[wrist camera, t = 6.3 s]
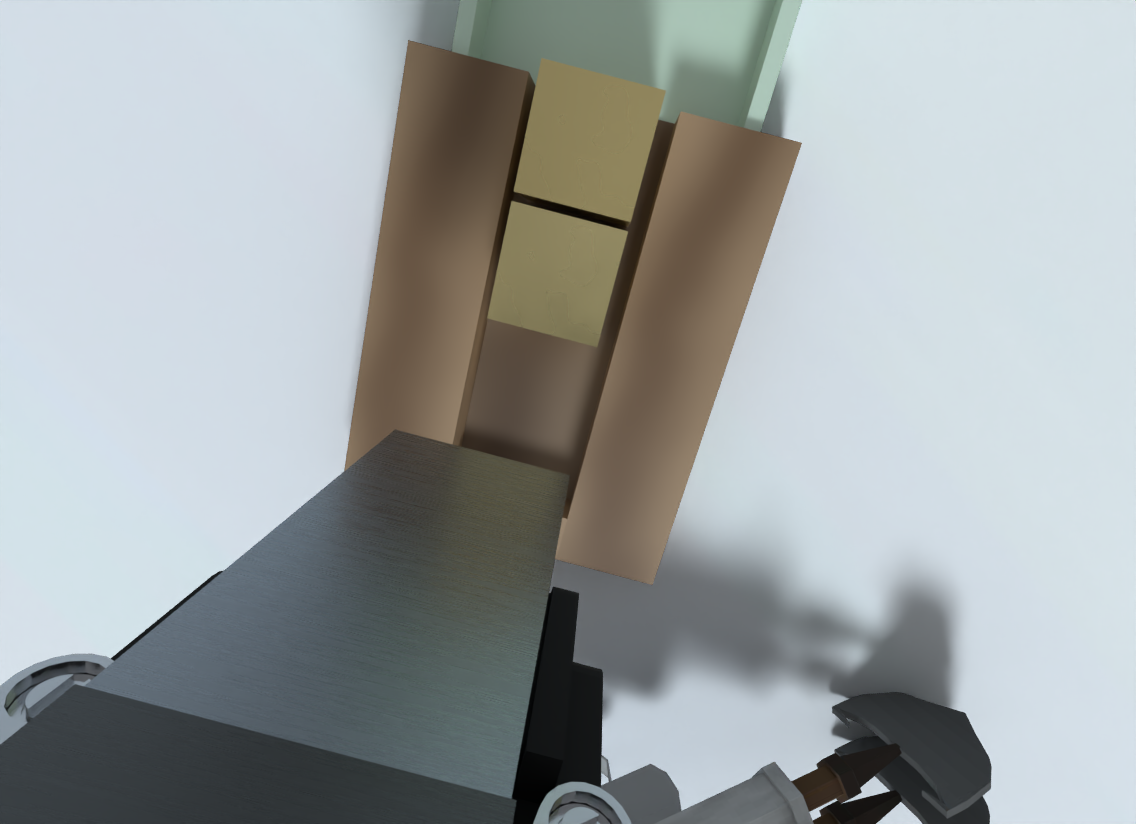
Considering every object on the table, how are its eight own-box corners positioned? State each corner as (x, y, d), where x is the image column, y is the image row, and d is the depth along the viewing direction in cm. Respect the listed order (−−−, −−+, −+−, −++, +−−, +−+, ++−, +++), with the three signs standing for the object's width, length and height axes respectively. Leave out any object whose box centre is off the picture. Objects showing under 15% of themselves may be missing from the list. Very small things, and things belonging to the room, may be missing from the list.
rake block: (572, 474, 14) (451, 1178, 3) (525, 644, 15) (335, 1521, 5) (393, 426, 14) (-298, 984, 3) (363, 602, 15) (-188, 1384, 5)
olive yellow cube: (625, 234, 23) (628, 231, 19) (599, 331, 24) (597, 347, 20) (528, 209, 23) (511, 200, 19) (507, 307, 24) (486, 318, 20)
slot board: (782, 154, 22) (801, 142, 20) (649, 556, 27) (652, 584, 25) (429, 62, 22) (408, 40, 20) (363, 480, 27) (339, 501, 25)
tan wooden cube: (656, 119, 22) (665, 90, 18) (627, 227, 23) (630, 221, 19) (554, 92, 22) (541, 57, 18) (530, 201, 23) (513, 191, 19)
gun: (362, 726, 30) (349, 1105, 16) (788, 571, 37) (1037, 740, 23) (386, 805, 31) (394, 1217, 17) (793, 641, 38) (1031, 840, 24)
